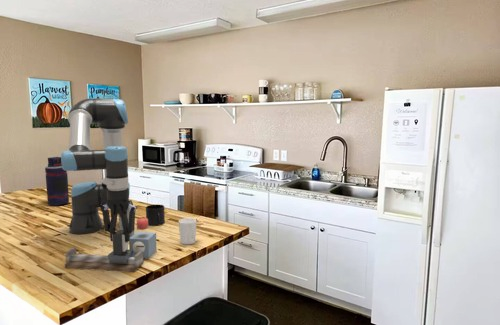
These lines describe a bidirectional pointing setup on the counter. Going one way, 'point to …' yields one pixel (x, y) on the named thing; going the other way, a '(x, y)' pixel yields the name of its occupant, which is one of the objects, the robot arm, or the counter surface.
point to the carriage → (119, 250)
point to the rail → (101, 262)
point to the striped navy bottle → (56, 182)
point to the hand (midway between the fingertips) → (120, 249)
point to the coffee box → (128, 220)
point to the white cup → (187, 230)
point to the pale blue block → (143, 243)
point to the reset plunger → (142, 223)
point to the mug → (155, 215)
